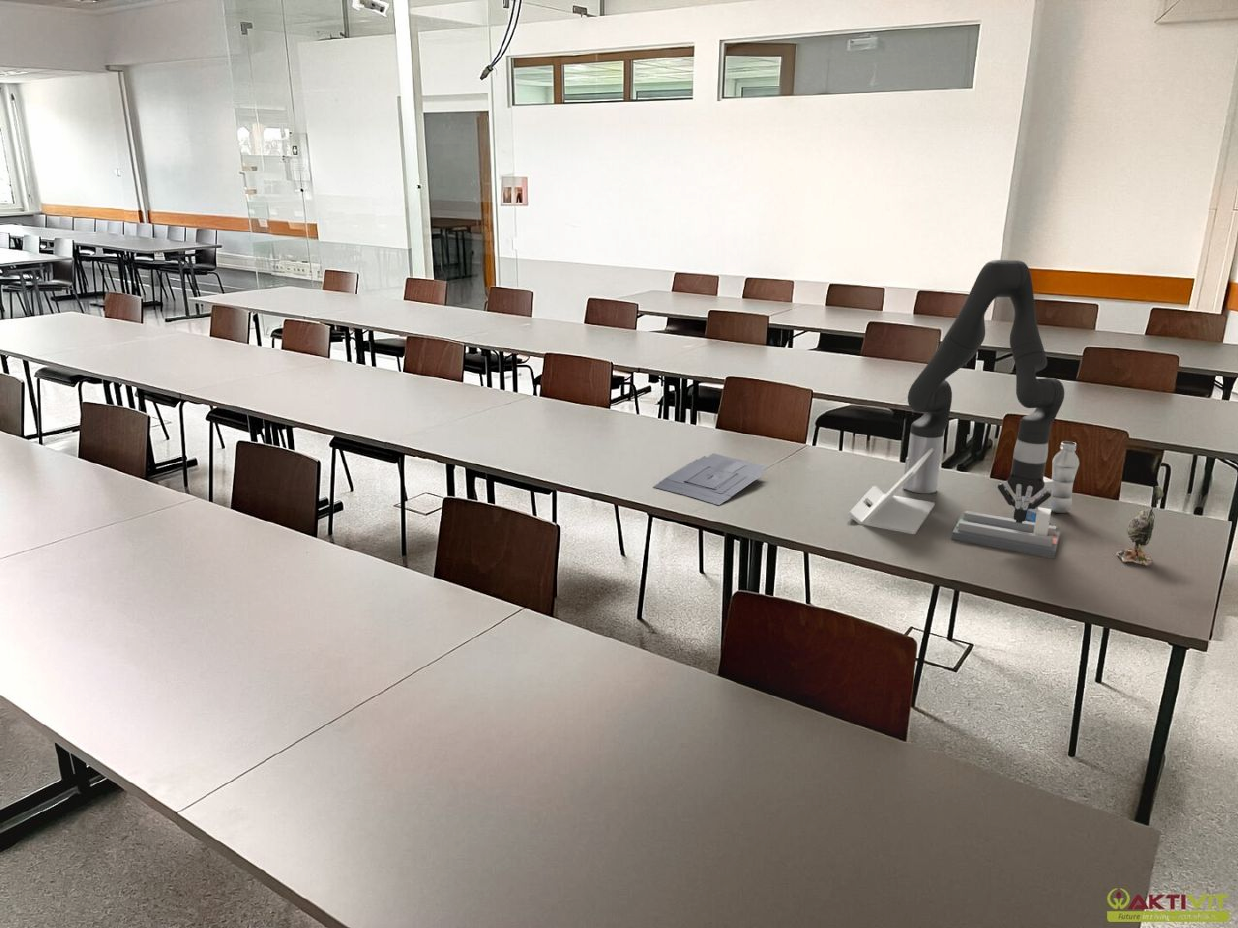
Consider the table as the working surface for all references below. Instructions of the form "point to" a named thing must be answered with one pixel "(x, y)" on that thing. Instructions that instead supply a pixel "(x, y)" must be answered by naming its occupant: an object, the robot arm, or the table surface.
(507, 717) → the table surface
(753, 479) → the papers
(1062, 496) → the plastic bottle
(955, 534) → the switch panel
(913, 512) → the tablet stand
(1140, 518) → the plant with pod
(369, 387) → the table surface
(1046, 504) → the ink box
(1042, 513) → the white rectangular block
